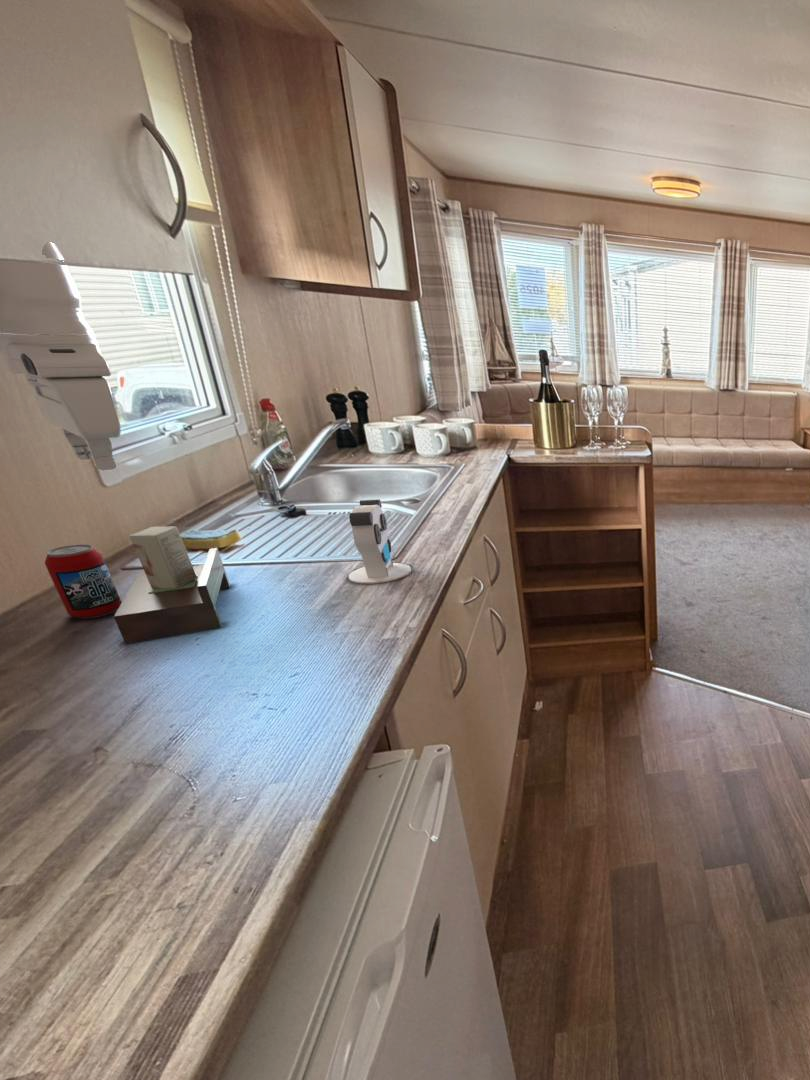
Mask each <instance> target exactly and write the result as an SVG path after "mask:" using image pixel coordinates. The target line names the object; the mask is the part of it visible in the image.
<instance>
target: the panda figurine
mask: <svg viewBox="0 0 810 1080" xmlns="http://www.w3.org/2000/svg"><path fill="white" fill-rule="evenodd" d="M382 507H383V506H382V501H381V499H363V500H359V505H356V506H355V507H354V508H353V509H352V512H349V523H350V525H351V530H352V531H351V532H352V538H353V541H354V545H355V548H356V549H357V551H358V553H359V554H360V555H361V558H362V562H363V566H362V567H360V568H357V569H355V570H353V571H351V572H350V573H349V574H348V580H349V581H350V582H352V583H356V584H361V585H372V584H373V585H374V584H382V583H388V582H393V581H396V580H400V579H402V578H404V577H406V576H408V575H409V574H411V572H412V567H411V566H410V565H408V564H405V563H401V562H393V558H392V555H391V552H392V542H391V540H390V539H389V538H388V524H387V523H388V522H387V518H386V516H385V514H384V513H383V510H382Z"/></svg>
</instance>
